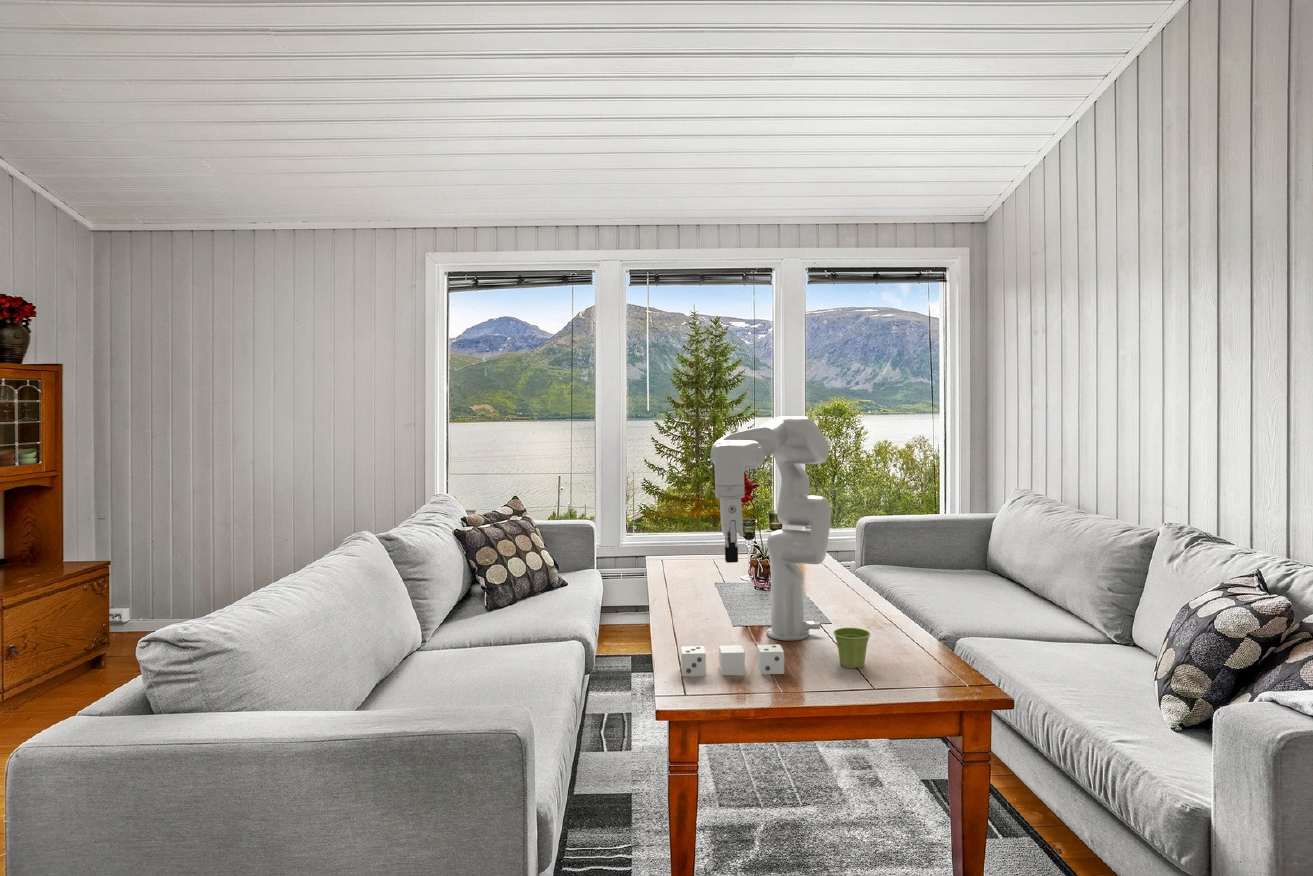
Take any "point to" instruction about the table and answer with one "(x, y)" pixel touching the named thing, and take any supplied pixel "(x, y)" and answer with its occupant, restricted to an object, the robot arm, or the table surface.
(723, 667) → the plain block
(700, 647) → the three dot block
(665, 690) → the table surface
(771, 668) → the two dot block
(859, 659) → the plant pot
